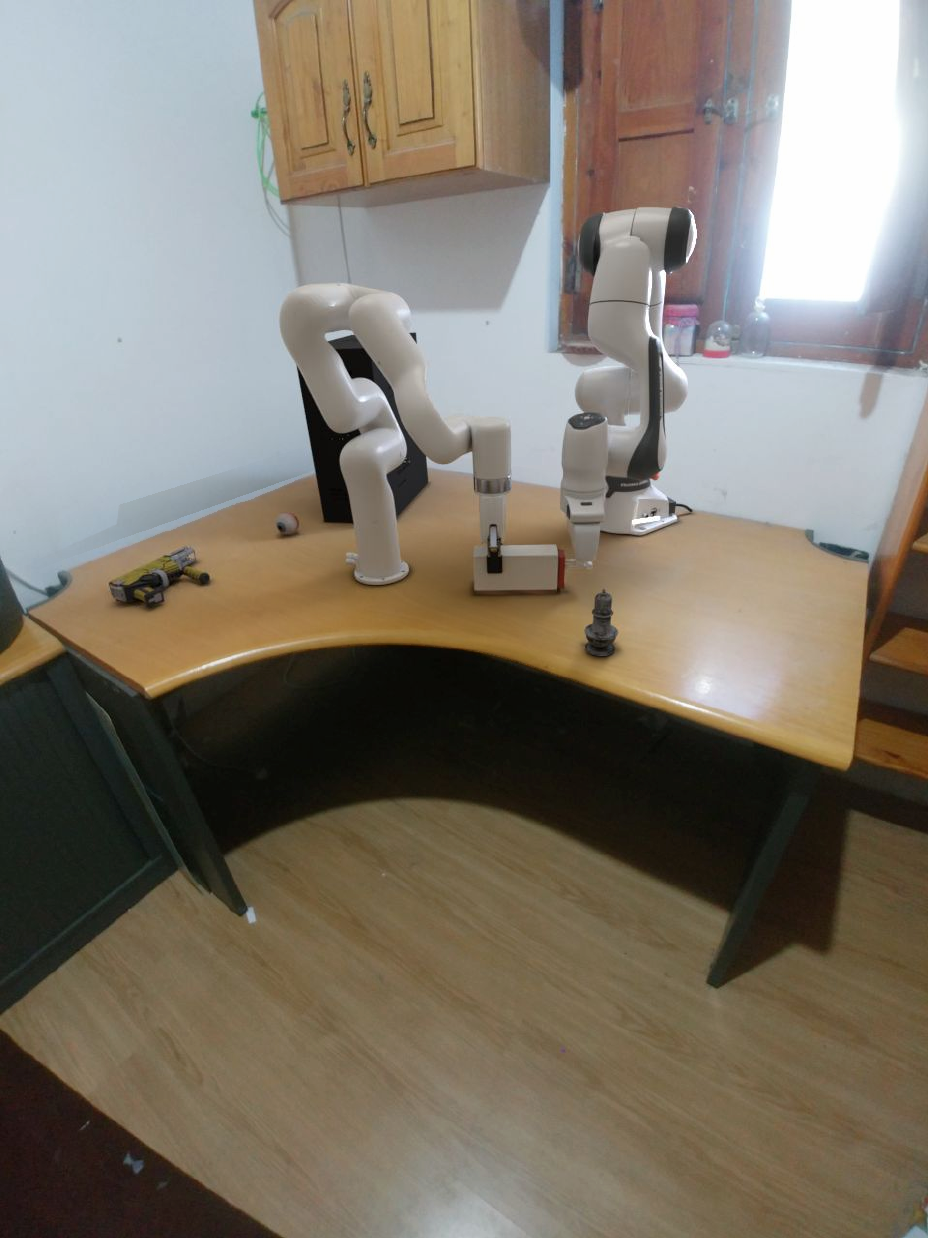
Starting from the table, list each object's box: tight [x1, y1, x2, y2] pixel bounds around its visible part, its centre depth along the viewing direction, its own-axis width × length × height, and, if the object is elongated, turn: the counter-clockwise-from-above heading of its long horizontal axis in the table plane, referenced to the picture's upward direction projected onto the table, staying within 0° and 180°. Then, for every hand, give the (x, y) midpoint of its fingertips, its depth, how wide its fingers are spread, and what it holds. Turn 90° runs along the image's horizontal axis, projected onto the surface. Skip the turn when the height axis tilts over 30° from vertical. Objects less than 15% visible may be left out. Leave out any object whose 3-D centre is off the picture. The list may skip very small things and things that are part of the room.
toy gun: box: [108, 545, 211, 609], centre depth 140 cm, size 5×24×15 cm
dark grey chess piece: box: [583, 588, 619, 657], centre depth 105 cm, size 6×6×12 cm
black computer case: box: [295, 332, 429, 523], centre depth 175 cm, size 38×20×45 cm, turn 167°
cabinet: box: [472, 544, 558, 596], centre depth 128 cm, size 18×6×9 cm, turn 87°
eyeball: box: [275, 511, 300, 536], centre depth 163 cm, size 6×6×6 cm
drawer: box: [557, 548, 594, 590], centre depth 128 cm, size 22×4×7 cm, turn 87°
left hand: (495, 565), depth 128 cm, fingers closed on cabinet, 5 cm apart
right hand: (579, 564), depth 126 cm, fingers closed, pressing on drawer
